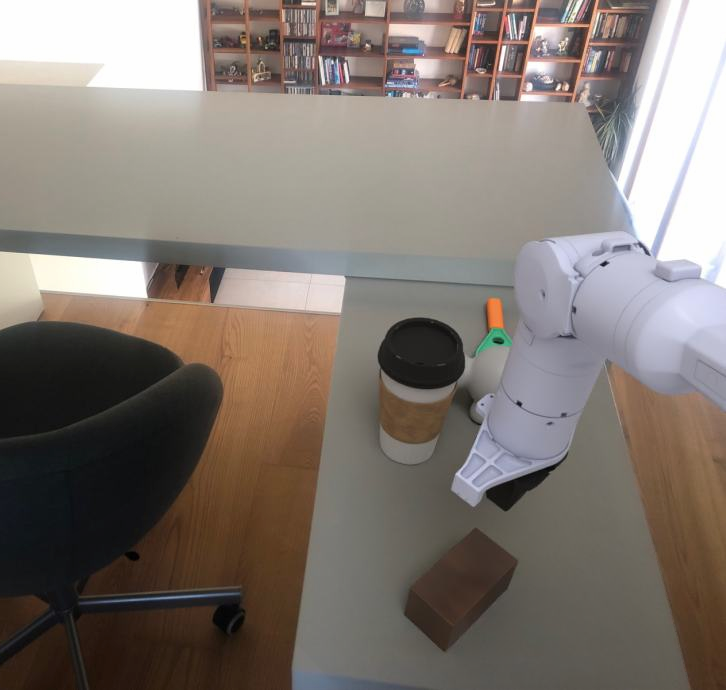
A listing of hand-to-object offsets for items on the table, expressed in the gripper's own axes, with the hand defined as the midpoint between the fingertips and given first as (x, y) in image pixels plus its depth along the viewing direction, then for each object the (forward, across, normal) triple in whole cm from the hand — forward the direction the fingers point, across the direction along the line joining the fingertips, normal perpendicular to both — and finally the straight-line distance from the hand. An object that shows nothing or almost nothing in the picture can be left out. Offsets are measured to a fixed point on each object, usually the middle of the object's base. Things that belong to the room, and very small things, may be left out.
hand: (500, 499), depth 57 cm
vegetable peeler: (+12, -28, -17) cm, 35 cm away
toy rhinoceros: (+12, -16, -13) cm, 24 cm away
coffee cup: (+11, -6, -14) cm, 19 cm away
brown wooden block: (+8, 0, +1) cm, 8 cm away
